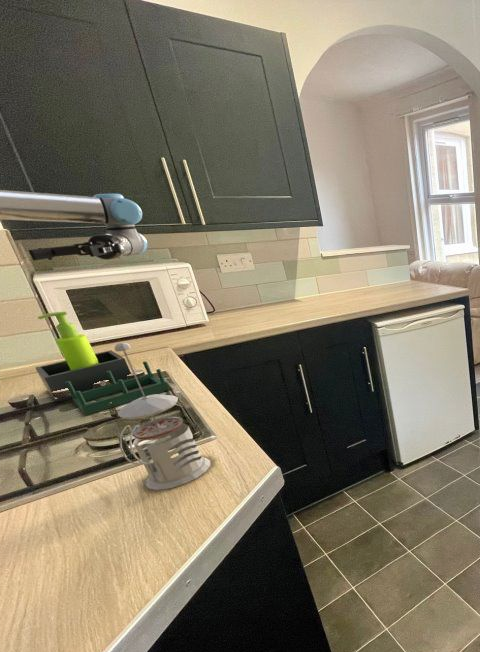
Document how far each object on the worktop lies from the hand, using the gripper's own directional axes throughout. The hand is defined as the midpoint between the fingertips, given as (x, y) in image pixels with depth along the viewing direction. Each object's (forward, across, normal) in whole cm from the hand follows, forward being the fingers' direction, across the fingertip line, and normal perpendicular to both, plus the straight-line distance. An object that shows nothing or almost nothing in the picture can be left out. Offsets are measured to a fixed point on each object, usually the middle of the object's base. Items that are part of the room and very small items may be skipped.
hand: (61, 253), depth 116 cm
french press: (+72, -48, -35) cm, 93 cm away
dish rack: (+26, -16, -35) cm, 46 cm away
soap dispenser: (+14, -2, -34) cm, 37 cm away
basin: (+14, -2, -35) cm, 37 cm away
